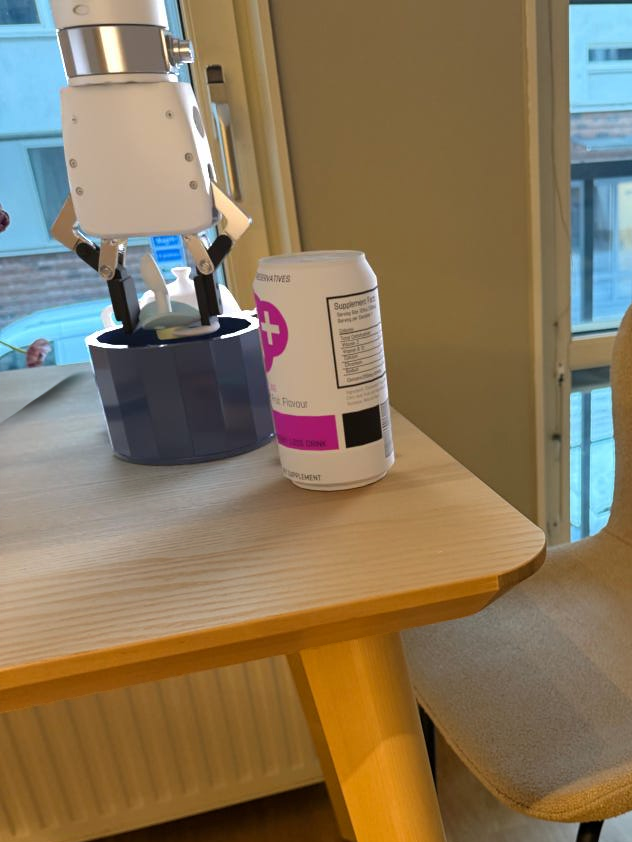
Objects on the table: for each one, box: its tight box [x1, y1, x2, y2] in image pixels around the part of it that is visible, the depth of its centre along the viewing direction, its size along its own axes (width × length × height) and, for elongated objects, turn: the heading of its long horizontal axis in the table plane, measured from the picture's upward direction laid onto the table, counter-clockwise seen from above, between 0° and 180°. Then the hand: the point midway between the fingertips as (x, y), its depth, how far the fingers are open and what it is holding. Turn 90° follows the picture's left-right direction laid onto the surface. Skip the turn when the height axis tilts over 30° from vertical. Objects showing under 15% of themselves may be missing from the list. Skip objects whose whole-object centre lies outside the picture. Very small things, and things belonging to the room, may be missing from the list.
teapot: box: [100, 266, 257, 330], centre depth 106 cm, size 20×12×10 cm, turn 102°
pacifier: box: [139, 252, 220, 340], centre depth 73 cm, size 7×6×6 cm
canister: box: [84, 315, 277, 466], centre depth 76 cm, size 14×14×9 cm
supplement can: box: [252, 249, 395, 492], centre depth 65 cm, size 8×8×15 cm
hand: (172, 326), depth 74 cm, fingers closed on pacifier, 5 cm apart
